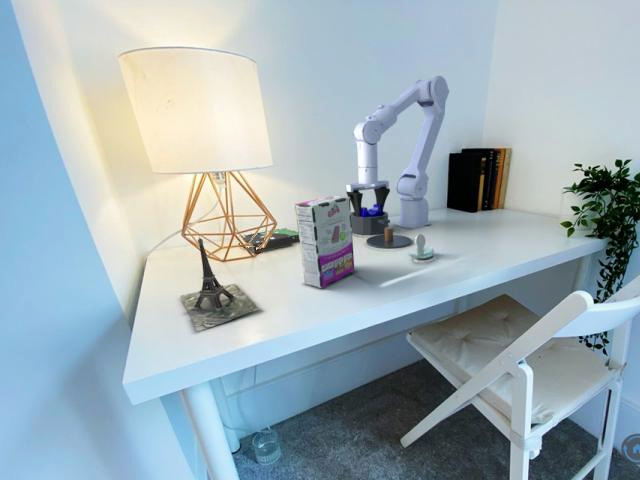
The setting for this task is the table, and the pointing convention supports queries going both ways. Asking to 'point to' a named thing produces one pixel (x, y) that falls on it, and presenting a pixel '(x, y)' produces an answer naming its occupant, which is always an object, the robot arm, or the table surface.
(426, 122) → the robot arm
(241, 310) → the eiffel tower figurine
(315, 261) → the candy bar box
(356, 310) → the table surface
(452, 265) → the table surface
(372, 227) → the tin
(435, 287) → the table surface
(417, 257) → the pacifier
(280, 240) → the disk drive
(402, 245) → the lid
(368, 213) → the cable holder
